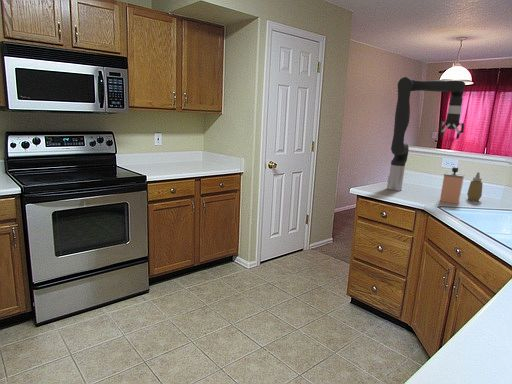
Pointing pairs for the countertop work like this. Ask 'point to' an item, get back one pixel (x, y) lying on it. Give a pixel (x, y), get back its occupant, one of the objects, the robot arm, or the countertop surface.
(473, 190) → the squeeze bottle
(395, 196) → the countertop surface
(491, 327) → the countertop surface
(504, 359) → the countertop surface
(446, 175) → the drawer with knob
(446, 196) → the open tunnel frame
